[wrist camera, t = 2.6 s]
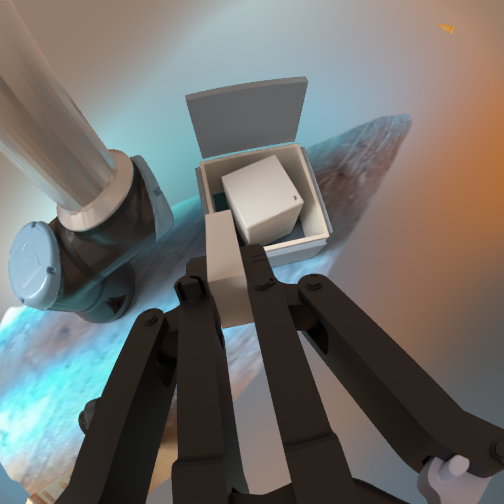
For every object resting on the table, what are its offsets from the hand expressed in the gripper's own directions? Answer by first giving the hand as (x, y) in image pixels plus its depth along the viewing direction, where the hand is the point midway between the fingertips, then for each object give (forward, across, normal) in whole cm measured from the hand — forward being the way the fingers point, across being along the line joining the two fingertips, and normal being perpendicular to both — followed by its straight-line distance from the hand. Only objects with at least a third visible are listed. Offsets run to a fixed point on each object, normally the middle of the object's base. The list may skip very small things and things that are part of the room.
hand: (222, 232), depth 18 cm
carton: (+33, +6, -16) cm, 37 cm away
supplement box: (+33, +6, -17) cm, 38 cm away
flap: (+31, +6, -2) cm, 31 cm away
